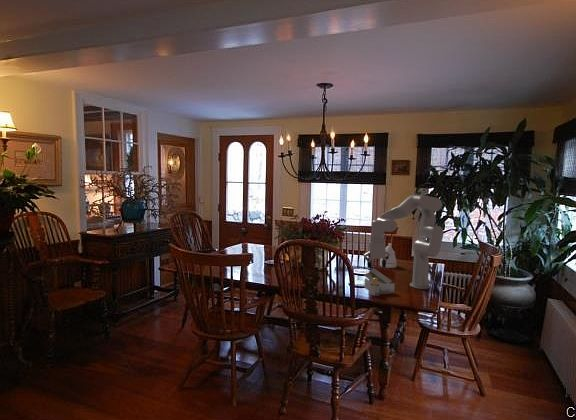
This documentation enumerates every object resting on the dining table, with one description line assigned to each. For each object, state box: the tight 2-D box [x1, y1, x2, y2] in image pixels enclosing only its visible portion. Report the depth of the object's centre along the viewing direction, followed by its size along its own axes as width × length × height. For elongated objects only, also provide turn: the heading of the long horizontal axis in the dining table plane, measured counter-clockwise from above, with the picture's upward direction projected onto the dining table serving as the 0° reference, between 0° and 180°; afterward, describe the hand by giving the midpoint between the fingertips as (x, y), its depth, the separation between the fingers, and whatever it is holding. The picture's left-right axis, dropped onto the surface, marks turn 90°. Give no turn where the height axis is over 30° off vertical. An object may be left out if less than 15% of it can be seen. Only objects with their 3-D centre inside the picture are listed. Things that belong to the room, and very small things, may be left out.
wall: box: [363, 267, 392, 284], centre depth 249 cm, size 16×9×15 cm
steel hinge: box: [364, 277, 396, 297], centre depth 235 cm, size 17×17×6 cm
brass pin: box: [372, 278, 378, 286], centre depth 229 cm, size 3×3×10 cm
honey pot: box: [379, 243, 398, 269], centre depth 301 cm, size 13×13×18 cm
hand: (376, 267), depth 228 cm, fingers open, 9 cm apart
